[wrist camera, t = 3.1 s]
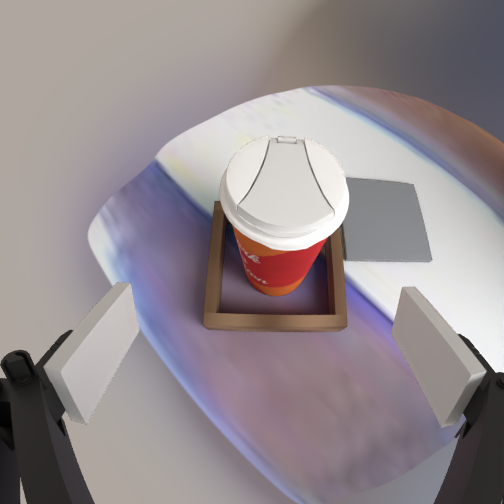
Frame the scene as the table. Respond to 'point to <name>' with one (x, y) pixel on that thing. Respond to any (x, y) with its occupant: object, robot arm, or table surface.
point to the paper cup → (282, 208)
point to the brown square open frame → (273, 322)
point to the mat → (384, 223)
